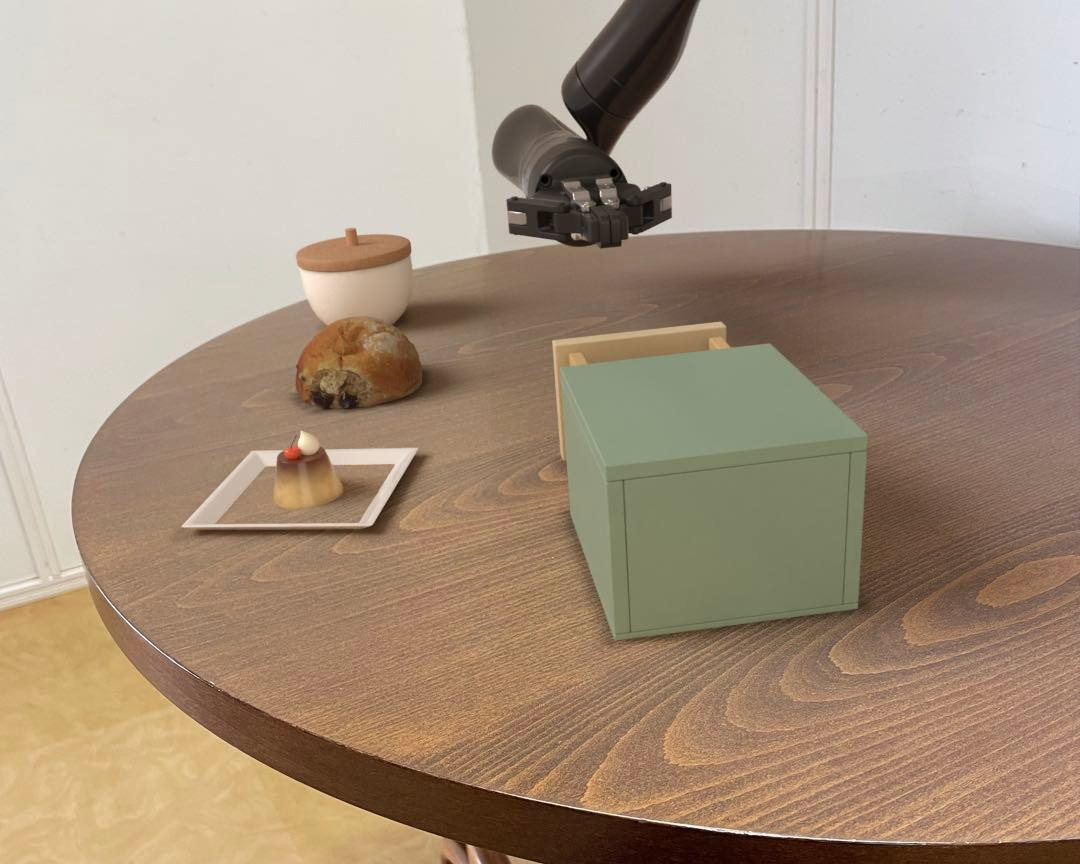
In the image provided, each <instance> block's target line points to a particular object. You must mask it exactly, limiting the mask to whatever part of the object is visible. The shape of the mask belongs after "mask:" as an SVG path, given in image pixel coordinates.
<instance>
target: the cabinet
mask: <svg viewBox="0 0 1080 864" xmlns="http://www.w3.org/2000/svg"><path fill="white" fill-rule="evenodd" d="M560 378H561V391H562V405H563V419H564V433H565V447H566V475H567V487H568V488H567V489H568V501H569V515H570V517H571V520H572V523H573V526H574V529H575V532H576V534H577V537H578V538H577V539H578V540H579V543H580V546H581V550H582V551H583V554H584V557H585V560H586V564H587V567H588V569H589V572H590V574H591V577H592V580H593V584H594V586H595V589H596V591H597V595H598V597H599V600H600V604H601V606H602V609H603V612H604V615H605V618H606V620H607V623H608V626H609V628H610V629H609V630H610V632H611V635H612V638H613V640H614V641H623V640H631V639H639V638H645V637H653V636H661V635H667V634H669V635H670V634H677V633H685V632H692V631H699V630H707V629H712V628H721V627H729V626H736V625H743V624H744V625H745V624H750V623H751V624H753V623H759V622H766V621H775V620H781V619H782V620H783V619H789V618H797V617H804V616H811V615H812V616H813V615H819V614H827V613H828V614H829V613H834V612H842V611H851V610H857V609H859V599H860V597H859V596H860V581H861V563H862V545H863V531H864V530H863V528H864V511H865V493H866V475H867V461H868V451H867V450H868V443H869V434H868V433H867V432H866V431H865V430H864V429H862V428H861V426H859V424H857V423H856V422H855V421H854V420H853V419H852V418H851V417H850V416H849V415H847V414H846V413H845V411H843V409H841V408H840V407H839V406H838V405H837V404H835V403H834V401H833V400H831V399H830V398H829V397H828V396H827V395H826V394H825V393H824V392H823V390H821V389H820V388H818V387H817V385H815V384H814V382H812V381H811V380H810V379H809V378H808V377H807V376H806V375H804V373H803V372H802V371H801V370H800V369H798V368H797V367H796V366H795V365H794V364H793V363H792V362H790V360H789V359H787V358H786V357H785V356H784V355H783V354H782V353H781V352H780V351H779V350H778V349H777V348H776V347H775V346H773V344H771V343H769V342H768V343H759V344H753V345H751V344H750V345H744V346H743V345H742V346H735V347H731V348H725V349H716V350H707V351H698V352H689V353H681V354H672V355H663V356H654V357H645V358H636V359H628V360H619V361H610V362H601V363H592V364H583V365H574V366H566V367H560Z"/></svg>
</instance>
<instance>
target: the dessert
mask: <svg viewBox="0 0 1080 864" xmlns="http://www.w3.org/2000/svg"><path fill="white" fill-rule="evenodd" d="M297 437H298V435H297V434H296V435H295V437H294V439H293V441H292V442H291V444H290V447H286V448H285V449H270V450H267V449H266V450H265V449H264V450H251V451H250V452H249V453H248V454H247V455H246V457H244V458H243V460H242V461H241V462H240V463H239V464H238V465H237V466H236V467H235V468H234V469H233V470H232V471H231V473H230V474H229V475H227V477H226V478H225V479H224V480H223V481H222V482H221V483H220V484H219V485H218V486H217V487H216V488H215V490H214V491H212V493H211V494H210V495H209V496H208V497H207V498H206V499H205V500H204V501H203V502H202V503H201V505H200V506H199V507H198V508H196V510H195V511H194V512H193V513H192V514H191V515H190V516H189V517H188V519H186V521H185V522H184V523H183V524H182V525H181V528H184V529H190V530H199V531H258V530H259V531H267V530H268V531H272V530H273V531H275V530H277V531H278V530H279V531H281V530H283V531H284V530H287V531H288V530H290V531H291V530H292V531H293V530H295V531H296V530H362V529H366V528H369V527H372V526H374V524H375V522H376V520H377V518H378V517H379V516H380V514H381V512H382V511H383V509H384V507H385V505H386V504H387V502H388V501H389V499H390V497H391V495H392V494H393V492H394V490H395V488H396V487H397V485H398V483H399V482H400V480H401V479H402V477H403V475H404V473H405V472H406V471H407V469H408V467H409V465H410V463H411V462H412V460H413V459H414V457H415V455H416V453H417V452H418V450H419V447H379V448H378V447H377V448H376V447H375V448H374V447H373V448H329V449H327V448H326V449H325V448H324V447H323V446H321V445H320V441H319V439H318V438H317V437H316V436H314V435H313V434H311V433H309V432H306V431H304V430H300V435H299V438H298V441H297V445H293V443H295V441H296V439H297ZM352 465H353V466H355V465H356V466H360V465H361V466H362V465H363V466H364V465H394V466H393V467H392V469H391V471H390V472H389V474H388V476H387V477H386V479H385V480H384V481H383V484H382V485H381V486H380V488H379V489H378V491H377V493H376V494H375V496H374V498H373V499H372V501H371V502H370V504H369V506H368V507H367V509H366V511H365V512H364V514H363V515H362V517H361V519H360V520H359V522H305V523H304V522H303V523H301V522H298V523H297V522H293V523H292V522H291V523H290V522H287V523H217V522H218V521H220V519H221V518H222V517H223V515H225V514H226V512H227V511H228V510H229V509H230V508H231V506H232V505H233V504H234V503H235V502H236V501H237V500H238V498H239V497H240V496H241V495H242V494H243V492H245V491H246V489H247V488H248V487H249V486H250V485H251V484H252V482H253V481H254V480H255V479H256V478H257V477H258V476H259V474H261V472H262V471H263V470H264V469H265V468H267V467H275V474H274V475H275V476H274V486H273V494H272V502H273V503H274V504H275V505H276V506H278V507H281V508H283V509H288V510H289V509H290V510H292V509H293V510H300V509H302V510H303V509H310V508H311V509H312V508H315V507H319V506H323V505H326V504H328V503H331V502H333V501H335V500H337V499H338V498H339V497H341V496H342V495H343V493H344V491H345V487H344V486H343V483H342V482H341V479H340V477H339V476H338V474H337V472H336V469H335V467H334V466H352Z"/></svg>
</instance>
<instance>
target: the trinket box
mask: <svg viewBox="0 0 1080 864" xmlns="http://www.w3.org/2000/svg"><path fill="white" fill-rule="evenodd" d="M344 232H345V236H341V237H336V238H330V239H325V240H320V241H317V242H314V243H311V244H308V245H306V246H303V247H302V248H300V249H299V250H298V251H297V252H296V254H295V260H296V264H297V266H298V268H299V275H300V280H301V284H302V288H303V291H304V294H305V297H306V300H307V302H308V304H309V307H310V308H311V310H312V311H313V313H314V315H316V317H317V318H318V319H319V320H320V321H321V322H322V323H324V325H326V326H328V325H330V324H331V323H333V322H335V321H337V320H340V319H344V318H347V317H357V316H366V317H373V318H377V319H380V320H383V321H386V322H388V323H390V324H391V325H394V324H395V323H396V322H397V321H398V320H399V319H400V318H401V317H402V315H403V314H404V313H405V311H406V310H407V308H408V306H409V304H410V301H411V297H412V293H413V279H414V276H413V275H414V271H413V261H412V243H411V241H410V240H409V238H407V237H404V236H402V235H397V234H396V235H395V234H387V233H386V234H383V233H382V234H381V233H376V234H375V233H374V234H358V232H357V228H356V227H349V228H345V229H344Z"/></svg>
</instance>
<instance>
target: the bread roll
mask: <svg viewBox="0 0 1080 864" xmlns="http://www.w3.org/2000/svg"><path fill="white" fill-rule="evenodd" d="M295 368H296V374H295V390H296V392H297V394H298V396H299V398H300V400H302V401H303V402H304V404H306V405H310V406H312V407H317V408H322V409H344V410H347V409H352V408H366V407H368V408H369V407H371V406H377V405H378V406H379V405H381V404H384V403H390V402H393V401H397V400H400V399H402V398H404V397H407V396H409V395H412V394H413V393H414V392H415V391H417V390H418V389H419V388H420V387H421V385H423V369H422V368H423V367H422V363H421V360H420V355H419V352H418V350H417V349H416V346H415V344H414V343H413V342H411V340H409V338H408V336H406V334H404V333H403V332H402V330H400V329H398V328H397V327H396V326H395V325H394V324H392V325H391V324H390V323H388V322H386V321H383V320H380V319H377V318H373V317H366V316H357V317H347V318H344V319H340V320H337V321H335V322H333V323H331V324H330V325H326V326H325V327H324V328H322V329H321V330H320V331H318V332H317V333H316V334H315V335H314V337H313V338H312V339H311V340H310V341H309V342H308V343H307V345H306V346H305V347H304V349H302V351H301V354H300V356H299V357H298V360H297V364H295Z"/></svg>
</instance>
